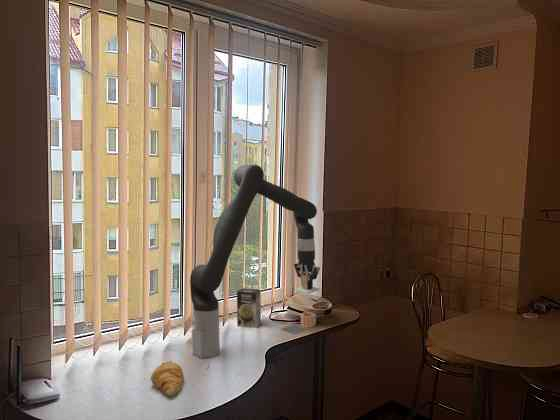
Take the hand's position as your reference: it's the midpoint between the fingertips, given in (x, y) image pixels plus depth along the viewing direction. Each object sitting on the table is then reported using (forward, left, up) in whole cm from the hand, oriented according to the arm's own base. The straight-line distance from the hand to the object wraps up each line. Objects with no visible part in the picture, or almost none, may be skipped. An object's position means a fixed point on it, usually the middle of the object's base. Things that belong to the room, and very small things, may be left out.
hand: (307, 287), depth 203 cm
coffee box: (-18, +18, -17) cm, 31 cm away
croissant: (-72, -6, -18) cm, 74 cm away
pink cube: (+1, 0, -17) cm, 17 cm away
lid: (0, 0, -1) cm, 1 cm away
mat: (-8, 0, -17) cm, 19 cm away
